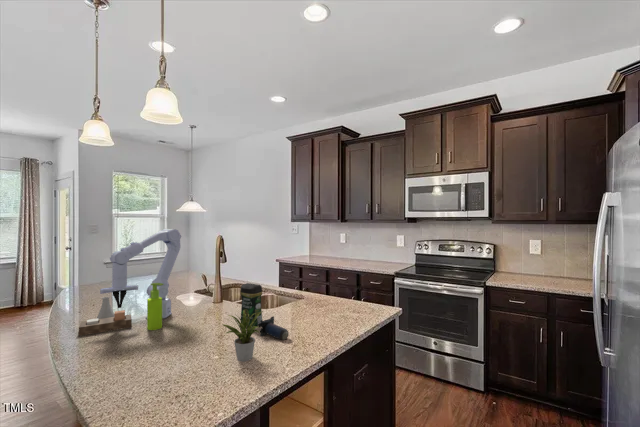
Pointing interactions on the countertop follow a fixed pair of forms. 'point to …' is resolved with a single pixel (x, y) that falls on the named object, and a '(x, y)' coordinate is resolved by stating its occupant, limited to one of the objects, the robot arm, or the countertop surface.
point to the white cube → (92, 321)
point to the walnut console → (105, 325)
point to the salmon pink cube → (119, 315)
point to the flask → (105, 309)
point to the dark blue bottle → (272, 329)
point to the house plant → (244, 337)
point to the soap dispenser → (154, 309)
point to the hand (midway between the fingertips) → (119, 307)
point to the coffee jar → (251, 302)
